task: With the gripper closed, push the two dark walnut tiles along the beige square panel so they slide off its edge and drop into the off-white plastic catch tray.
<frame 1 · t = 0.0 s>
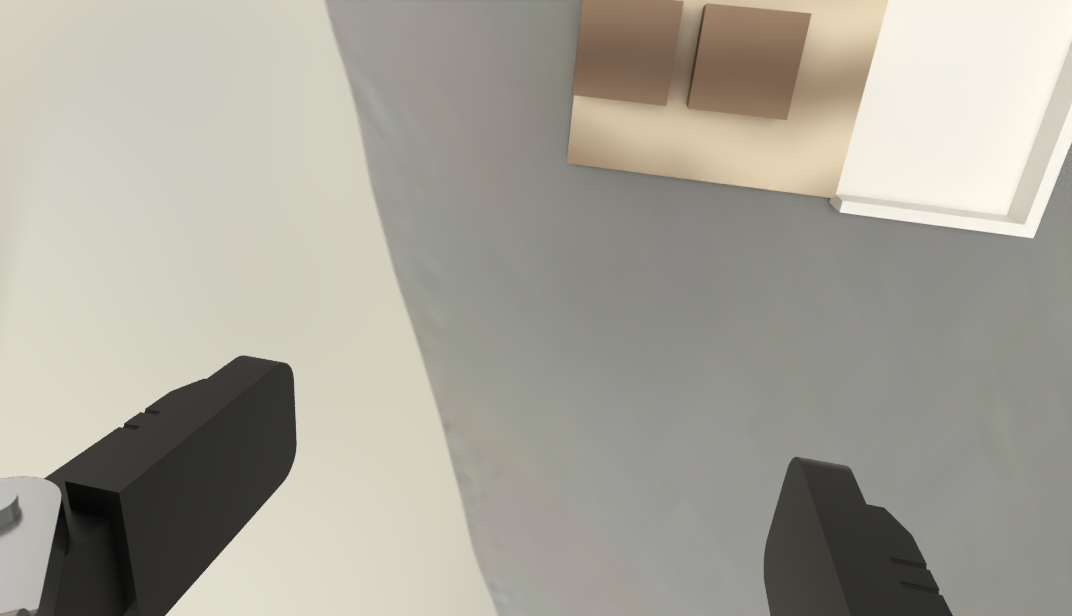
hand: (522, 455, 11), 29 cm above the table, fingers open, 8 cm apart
beige square panel: (717, 59, 35), on the table
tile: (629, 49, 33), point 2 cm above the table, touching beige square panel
catch tray: (953, 84, 33), on the table
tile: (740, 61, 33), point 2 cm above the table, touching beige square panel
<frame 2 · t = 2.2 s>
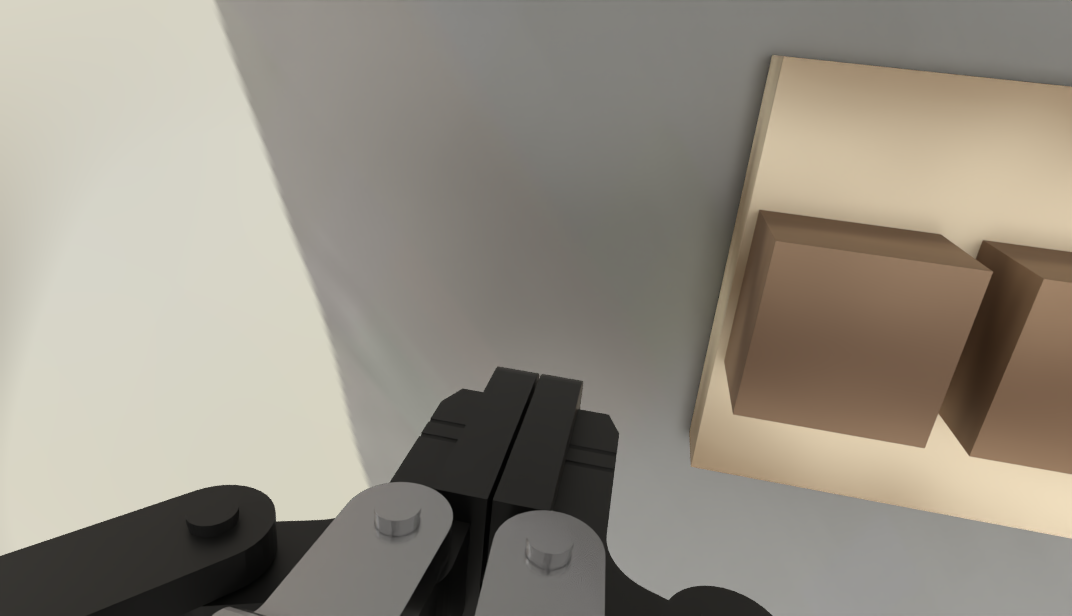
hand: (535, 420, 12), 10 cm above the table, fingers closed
beige square panel: (971, 301, 19), on the table
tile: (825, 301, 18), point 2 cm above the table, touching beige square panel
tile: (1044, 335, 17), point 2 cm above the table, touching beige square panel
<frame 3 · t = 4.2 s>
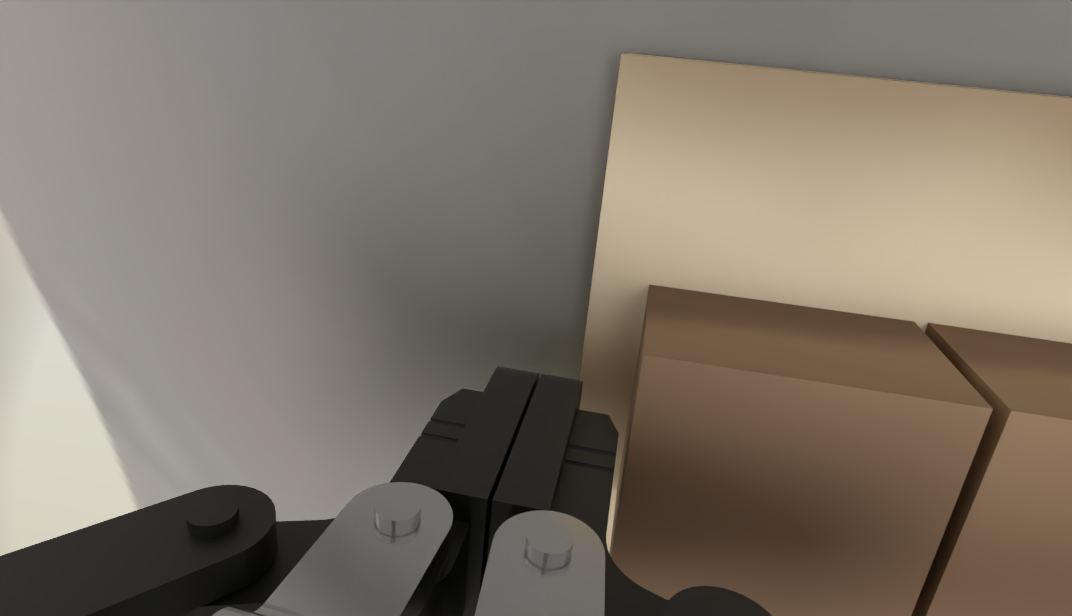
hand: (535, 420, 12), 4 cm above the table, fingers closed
beige square panel: (923, 394, 14), on the table
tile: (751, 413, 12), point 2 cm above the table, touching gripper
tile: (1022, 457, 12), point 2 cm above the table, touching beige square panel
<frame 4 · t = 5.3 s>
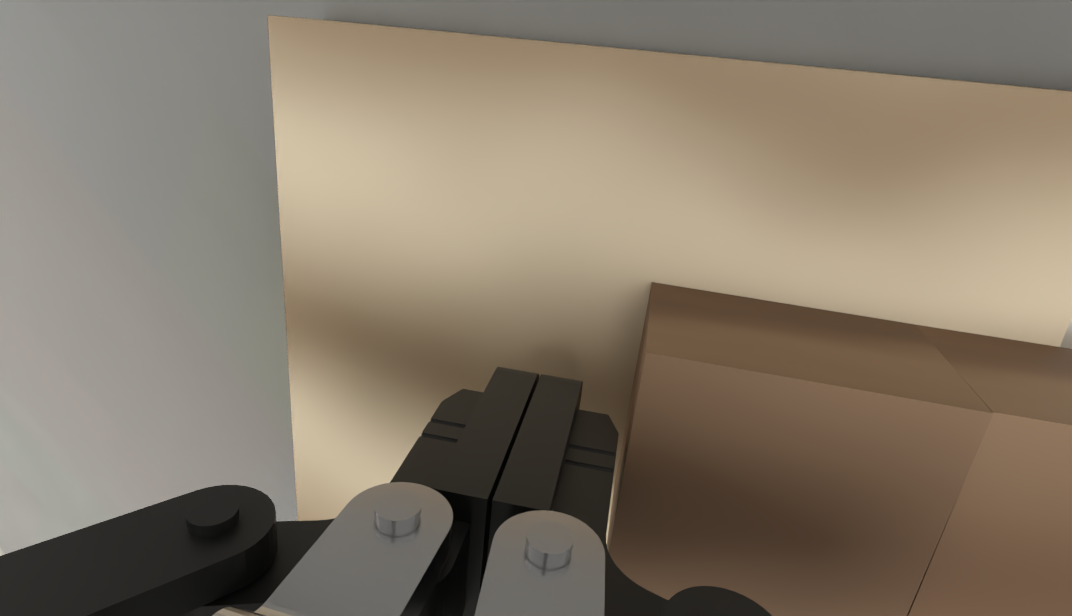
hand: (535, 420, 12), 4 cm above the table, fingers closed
beige square panel: (629, 343, 15), on the table
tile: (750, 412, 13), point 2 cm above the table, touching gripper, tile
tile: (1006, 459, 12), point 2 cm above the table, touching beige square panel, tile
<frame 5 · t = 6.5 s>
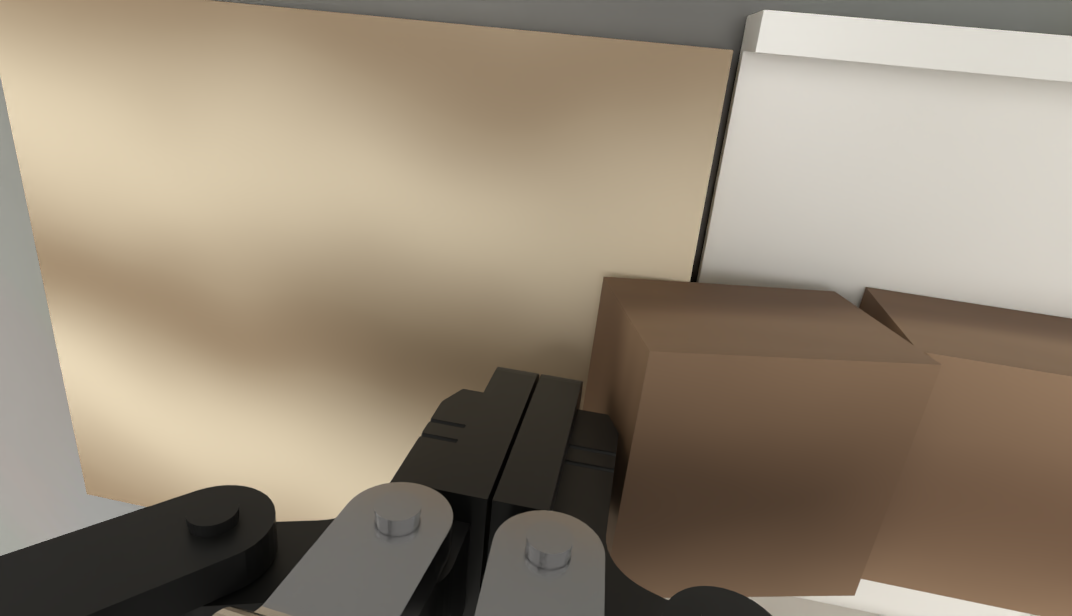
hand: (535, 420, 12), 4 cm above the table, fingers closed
beige square panel: (373, 291, 16), on the table
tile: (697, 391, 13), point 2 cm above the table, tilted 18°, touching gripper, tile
catch tray: (889, 372, 14), on the table
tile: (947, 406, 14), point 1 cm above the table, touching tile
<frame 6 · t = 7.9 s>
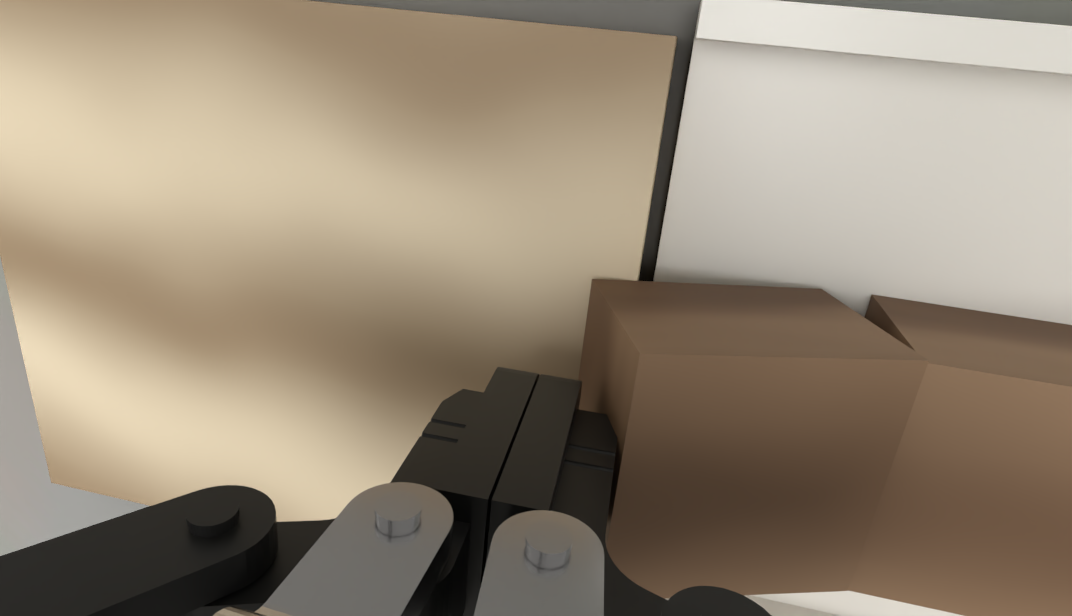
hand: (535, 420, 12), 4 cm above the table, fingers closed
beige square panel: (334, 282, 16), on the table
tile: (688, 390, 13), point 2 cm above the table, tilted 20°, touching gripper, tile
catch tray: (850, 368, 14), on the table
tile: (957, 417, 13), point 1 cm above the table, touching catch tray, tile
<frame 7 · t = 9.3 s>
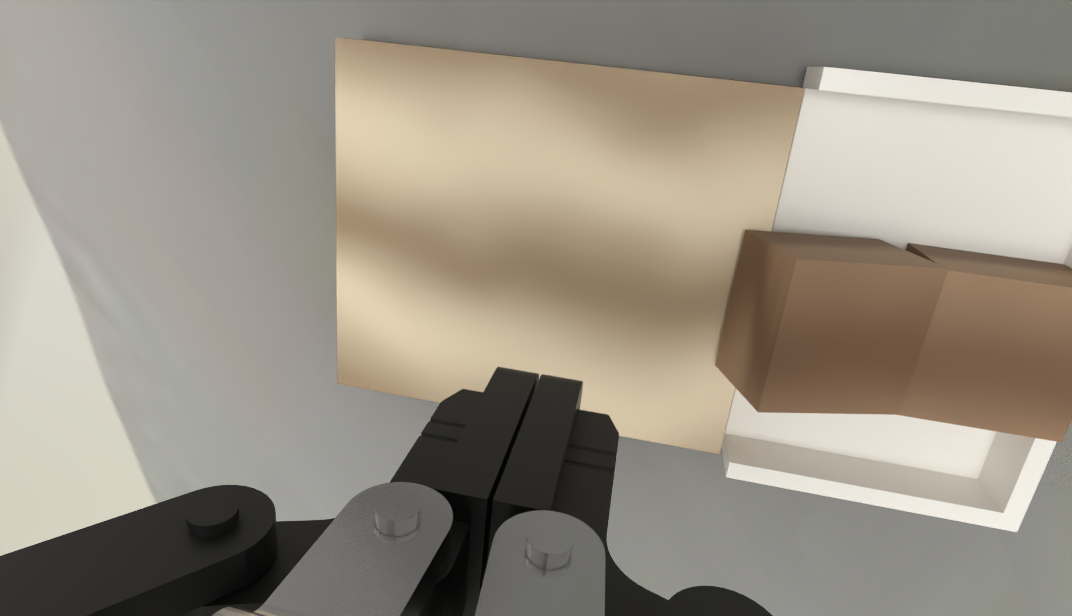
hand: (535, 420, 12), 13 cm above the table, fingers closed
beige square panel: (547, 242, 24), on the table
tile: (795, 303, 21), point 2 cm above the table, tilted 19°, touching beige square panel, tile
catch tray: (892, 292, 22), on the table
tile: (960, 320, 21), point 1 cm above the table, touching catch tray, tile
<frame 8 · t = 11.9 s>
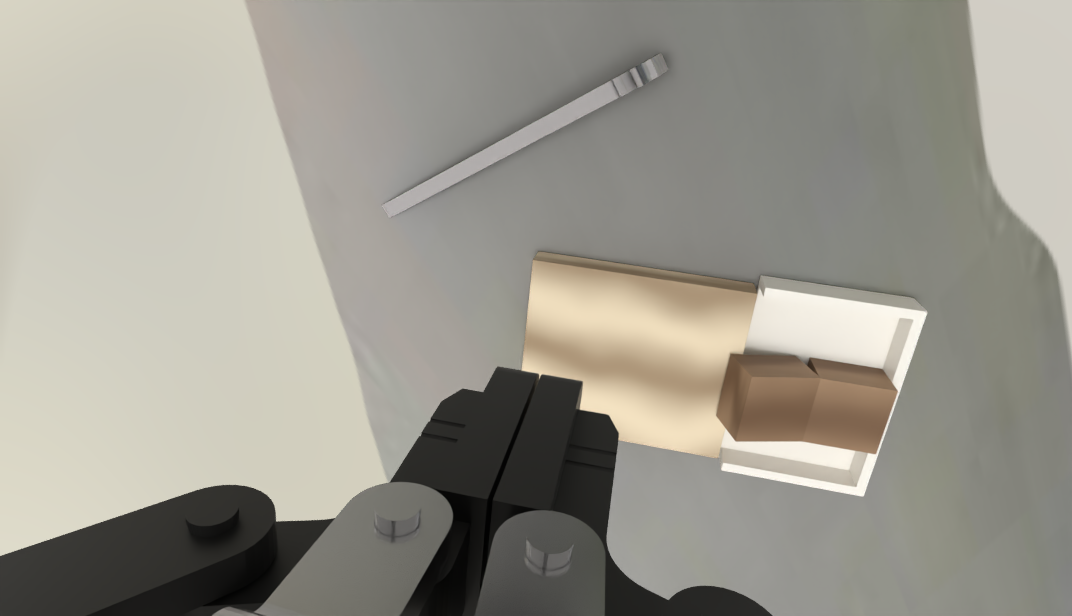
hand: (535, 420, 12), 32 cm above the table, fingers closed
beige square panel: (629, 349, 46), on the table
caliper: (516, 140, 42), on the table
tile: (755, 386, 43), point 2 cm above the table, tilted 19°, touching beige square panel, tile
catch tray: (804, 378, 44), on the table
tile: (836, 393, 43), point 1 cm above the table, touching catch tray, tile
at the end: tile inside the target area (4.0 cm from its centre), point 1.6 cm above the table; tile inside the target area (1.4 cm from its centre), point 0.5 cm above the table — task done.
